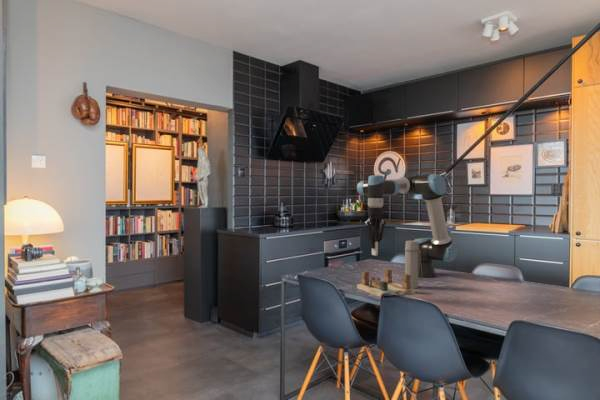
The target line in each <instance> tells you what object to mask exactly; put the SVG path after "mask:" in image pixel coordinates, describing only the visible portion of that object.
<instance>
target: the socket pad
mask: <svg viewBox="0 0 600 400" xmlns="http://www.w3.org/2000/svg"><path fill="white" fill-rule="evenodd" d="M371 289H373V290H376V291H378V292H381V293H388V292H396V291H399V290H396V289H393V288H390V287H388V290H384V291H383V290H381V289H379V288H376V287H375V288H371Z"/></svg>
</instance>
